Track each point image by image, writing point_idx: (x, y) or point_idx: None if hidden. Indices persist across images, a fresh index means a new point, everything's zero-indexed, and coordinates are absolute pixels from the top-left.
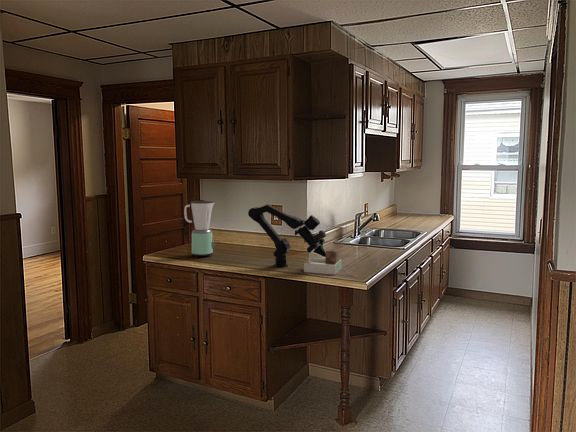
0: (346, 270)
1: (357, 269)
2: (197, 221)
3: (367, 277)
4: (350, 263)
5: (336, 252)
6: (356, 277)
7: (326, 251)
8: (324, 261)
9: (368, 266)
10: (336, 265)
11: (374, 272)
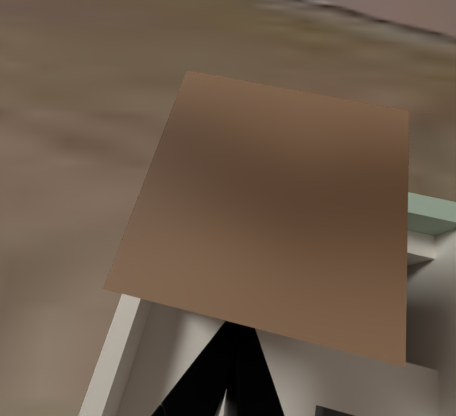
0: None
1: None
2: None
3: (420, 44)
4: (3, 117)
5: (396, 121)
6: (446, 98)
7: (401, 340)
8: (133, 352)
9: (115, 23)
10: (429, 202)
11: (279, 6)
